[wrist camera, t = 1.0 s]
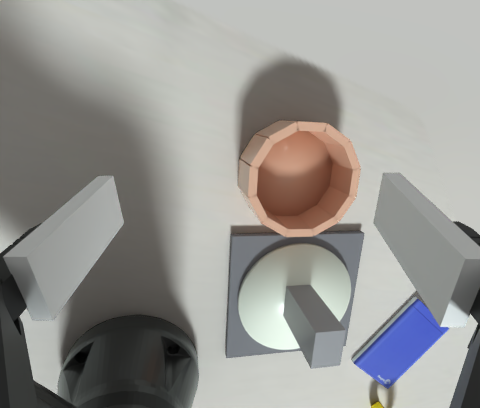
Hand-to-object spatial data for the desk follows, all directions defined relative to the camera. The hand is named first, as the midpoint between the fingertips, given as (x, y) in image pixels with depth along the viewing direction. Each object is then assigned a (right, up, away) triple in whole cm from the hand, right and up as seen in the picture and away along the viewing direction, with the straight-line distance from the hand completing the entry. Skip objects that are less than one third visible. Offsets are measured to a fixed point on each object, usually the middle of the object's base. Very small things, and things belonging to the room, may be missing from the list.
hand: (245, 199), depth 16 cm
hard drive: (+22, -20, +30) cm, 42 cm away
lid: (+6, -11, +22) cm, 26 cm away
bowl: (+5, +3, +19) cm, 20 cm away
